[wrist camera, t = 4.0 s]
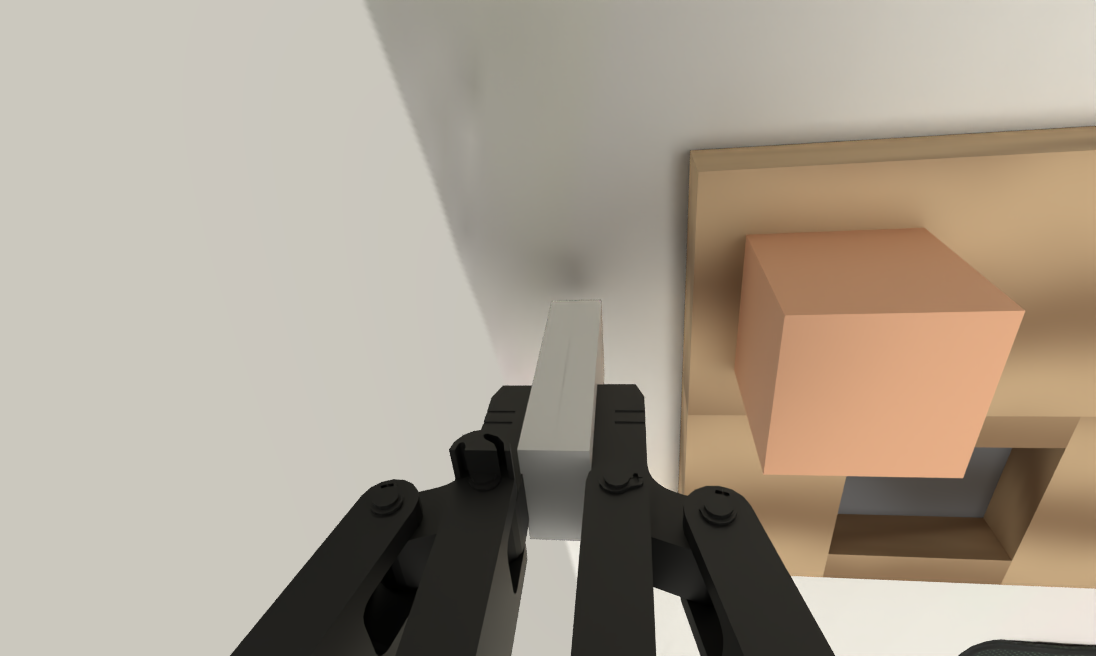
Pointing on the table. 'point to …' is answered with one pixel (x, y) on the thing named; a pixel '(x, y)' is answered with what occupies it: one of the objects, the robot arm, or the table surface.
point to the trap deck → (1024, 387)
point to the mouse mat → (1026, 649)
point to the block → (867, 352)
